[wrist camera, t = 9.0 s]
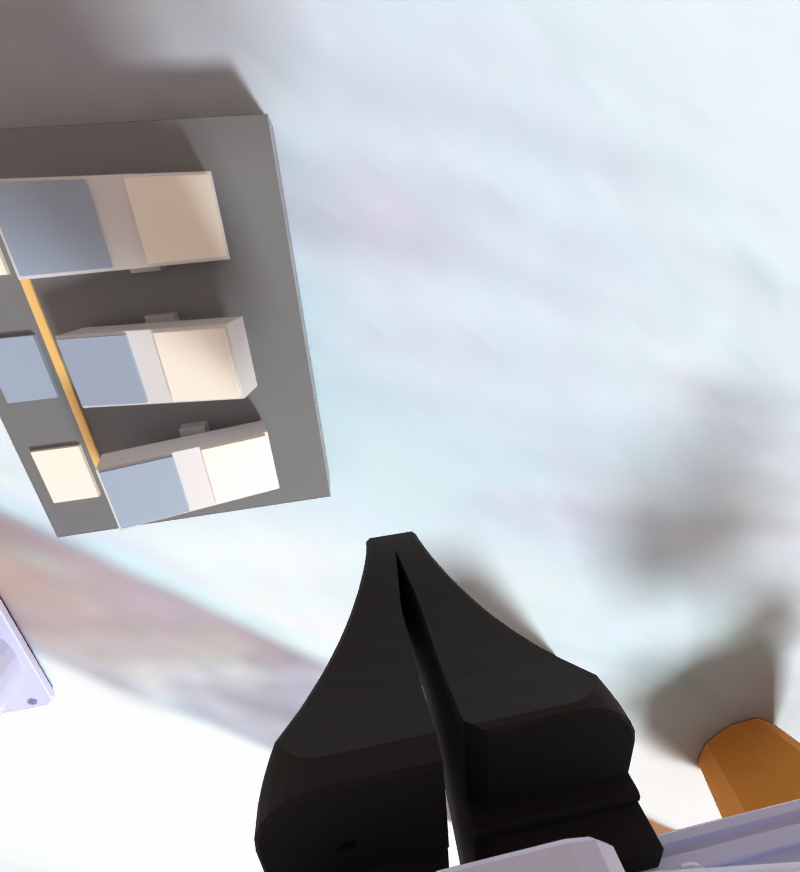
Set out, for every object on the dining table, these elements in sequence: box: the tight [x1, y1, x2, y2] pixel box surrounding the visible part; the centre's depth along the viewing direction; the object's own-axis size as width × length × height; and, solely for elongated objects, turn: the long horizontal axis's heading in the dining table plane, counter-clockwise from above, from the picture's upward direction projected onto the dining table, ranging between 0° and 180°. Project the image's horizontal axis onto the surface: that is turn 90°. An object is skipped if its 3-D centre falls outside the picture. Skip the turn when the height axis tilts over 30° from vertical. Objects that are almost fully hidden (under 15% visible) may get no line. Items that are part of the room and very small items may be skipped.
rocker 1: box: [0, 171, 230, 280], centre depth 15 cm, size 6×3×2 cm, turn 93°
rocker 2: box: [55, 316, 257, 408], centre depth 16 cm, size 6×3×2 cm, turn 95°
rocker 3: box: [96, 420, 279, 530], centre depth 18 cm, size 6×3×2 cm, turn 93°
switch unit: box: [0, 114, 330, 537], centre depth 18 cm, size 12×15×3 cm
